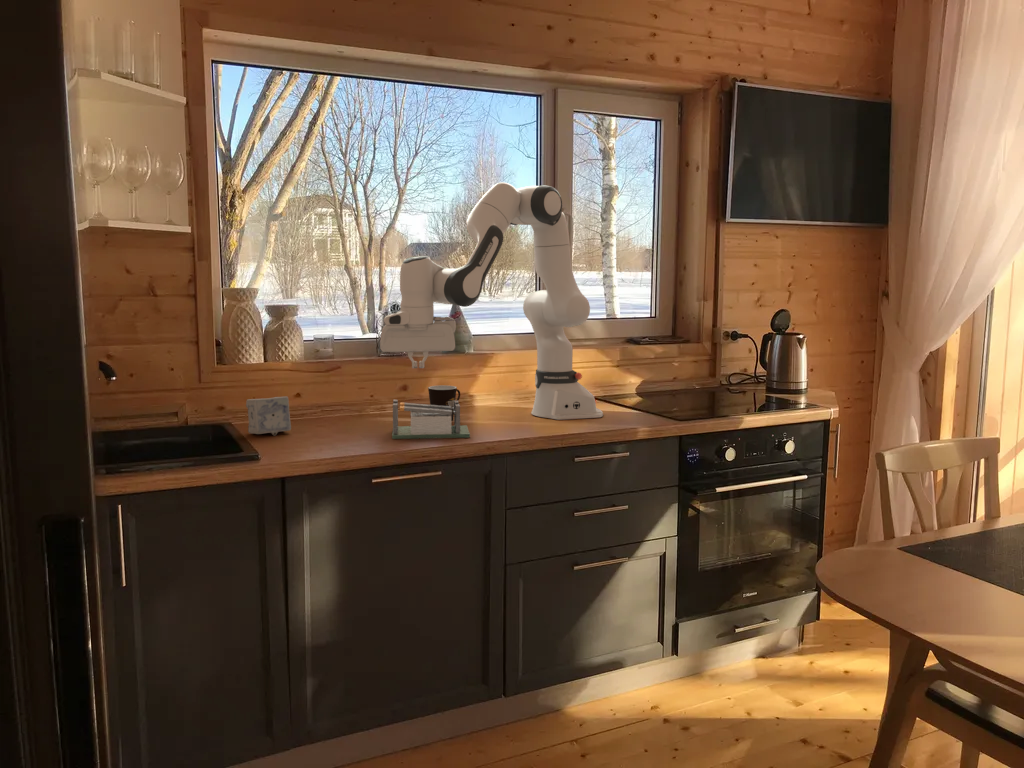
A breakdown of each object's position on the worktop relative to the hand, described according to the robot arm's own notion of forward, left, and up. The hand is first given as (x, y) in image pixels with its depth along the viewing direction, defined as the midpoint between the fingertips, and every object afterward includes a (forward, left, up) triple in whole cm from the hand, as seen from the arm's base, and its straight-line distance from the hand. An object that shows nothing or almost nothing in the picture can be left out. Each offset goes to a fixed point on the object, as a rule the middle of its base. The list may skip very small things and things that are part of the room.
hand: (418, 367), depth 221 cm
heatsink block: (-3, -3, -19) cm, 19 cm away
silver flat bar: (-2, -6, -12) cm, 14 cm away
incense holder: (+41, -7, -19) cm, 46 cm away
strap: (-2, 0, -12) cm, 12 cm away
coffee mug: (-9, -23, -19) cm, 31 cm away
